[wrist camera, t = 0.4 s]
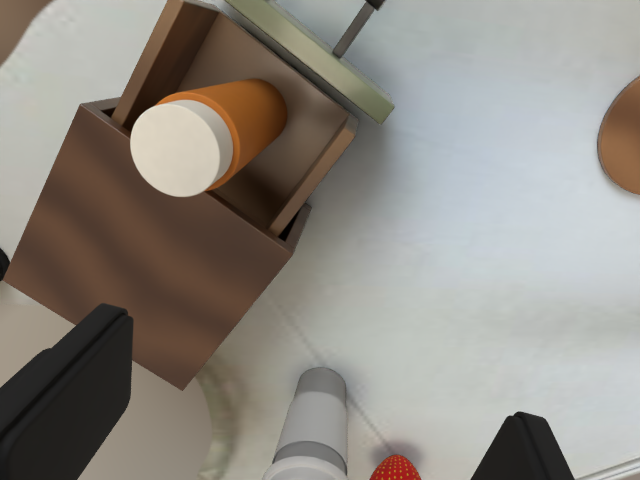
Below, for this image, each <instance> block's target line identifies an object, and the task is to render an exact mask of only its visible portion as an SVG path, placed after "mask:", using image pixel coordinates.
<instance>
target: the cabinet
mask: <svg viewBox="0 0 640 480" xmlns="http://www.w3.org/2000/svg"><path fill="white" fill-rule="evenodd" d="M120 98H121V97H118V98H112V99H106V100H100V101H94V102H89V103H82V104H80V105H79V108H78V110H77V112H76V114H75V117H74V119H73V121H72V124H71V126H70V128H69V130H68V133H67V135H66V137H65V139H64V142H63V144H62V146H61V149H60V151H59V153H58V155H57V158H56V160H55V162H54V164H53V167H52V169H51V171H50V174H49V176H48V178H47V180H46V183H45V185H44V187H43V190H42V192H41V194H40V196H39V199H38V201H37V203H36V205H35V208H34V210H33V212H32V215H31V217H30V219H29V221H28V224H27V226H26V228H25V230H24V233H23V235H22V237H21V240H20V242H19V244H18V246H17V249H16V251H15V253H14V255H13V258H12V260H11V262H10V265H9V267H8V269H7V271H6V274H5V276H4V278H3V281H5V282H6V283H8V284H9V285H11V286H13V287H14V288H16V289H18V290H19V291H21V292H22V293H24V294H26V295H27V296H29V297H31V298H32V299H34V300H35V301H37V302H39V303H40V304H42V305H44V306H45V307H47V308H48V309H50V310H52V311H53V312H55V313H57V314H58V315H60V316H61V317H63V318H65V319H66V320H68V321H70V322H71V323H73V324H75V325H77V324H78V323H79V322H81V321H82V320H83V319H84V318H85V317H86V316H87V315H88V314H89V313H90V312H92V311H93V310H94V309H95V308H96V307H97V306H98V305H100V304H101V303H106V304H110V305H113V306H117V307H121V308H125V309H127V311H128V316H131V317H133V320H134V325H133V348H132V360H133V361H135V362H136V363H138V364H139V365H141V366H143V367H144V368H146V369H148V370H149V371H151V372H153V373H154V374H156V375H157V376H159V377H161V378H162V379H164V380H165V381H167V382H169V383H170V384H172V385H174V386H175V387H177V388H178V389H180V390H182V391H183V390H184V389H185V387H186V386H187V385H188V383H189V382H190V381H191V380H192V379H193V378H194V376H195V375H196V374H197V373H198V371H199V370H200V369H201V368H202V366H203V365H204V364H205V363H206V361H207V360H208V359H209V358H210V357H211V355H212V354H213V353H214V352H215V350H216V349H217V348H218V347H219V345H220V344H221V343H222V342H223V340H224V339H225V338H226V337H227V336H228V334H229V333H230V332H231V331H232V329H233V328H234V327H235V326H236V324H237V323H238V322H239V321H240V319H241V318H242V317H243V316H244V315H245V313H246V312H247V311H248V310H249V308H250V307H251V306H252V305H253V303H254V302H255V301H256V300H257V298H258V297H259V296H260V295H261V294H262V292H263V291H264V290H265V289H266V287H267V286H268V285H269V284H270V282H271V281H272V280H273V279H274V277H275V276H276V275H277V274H278V273H279V271H280V270H281V269H282V268H283V266H284V265H285V264H286V263H287V261H288V260H289V259H290V258H291V256H292V255H293V253H294V251H295V248H296V246H297V243H298V241H299V238H300V236H301V233H302V231H303V228H304V226H305V223H306V221H307V218H308V216H309V213H310V211H311V207H310V206H309V205H307V204H306V203H304V204H303V205H302V206H301V208H300V209H299V210H298V212H297V213H296V214H295V215H294V217H293V218H292V219H291V221H290V222H289V223H288V224H287V226H286V227H285V228H284V230H283V231H282V232H281V234H280V235H279V236H278V237H277V236H276V235H274V234H273V233H271V232H270V231H269V230H267V229H266V228H264V227H263V226H262V225H260V224H259V223H257V222H256V221H255V220H253V219H252V218H250V217H249V216H248V215H246V214H245V213H243V212H242V211H241V210H239V209H238V208H236V207H235V206H233V205H232V204H231V203H229V202H228V201H226V200H225V199H224V198H222V197H221V196H219V195H218V194H217V193H215V192H214V191H212V190H208V191H203V192H201V193H200V194H197V195H194V196H190V197H176V196H171V195H168V194H165V193H163V192H161V191H159V190H157V189H156V188H154V187H153V186H152V185H150V184H149V183H148V182H147V181H146V180H145V179H144V178H143V176H142V175H141V174H140V172H139V171H138V169H137V167H136V165H135V163H134V161H133V157H132V154H131V147H130V139H131V132H129V131H128V130H127V129H125V128H124V127H122V126H121V125H120V124H118V123H117V122H115V121H114V120H113V119H111V117H112V115H113V113H114V111H115V109H116V107H117V105H118V103H119V100H120Z"/></svg>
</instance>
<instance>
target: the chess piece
mask: <svg viewBox="0 0 640 480" xmlns="http://www.w3.org/2000/svg"><path fill="white" fill-rule="evenodd" d="M8 267H9V261H8V259H7V257H6V255H5V254H4V252H3V251H2V250H1V249H0V281H2V280H3V278H4V276H5V274H6V271H7V269H8Z"/></svg>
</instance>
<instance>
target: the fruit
mask: <svg viewBox="0 0 640 480" xmlns="http://www.w3.org/2000/svg"><path fill="white" fill-rule="evenodd" d="M370 480H421V478H420V476H419V474H418V472H417V470H416V469H415V467H414V466H413V465H412V463H411V462H410V461H409V460H408V459H406V458H405V457H403V456H401V455H392V456H389V457H387V458H386V459H385V460H383V461H382V462H381V464H380V465H379V466H378V467H377V468H376V469H375V471H374V472H373V474H372V476H371V478H370Z"/></svg>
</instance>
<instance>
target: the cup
mask: <svg viewBox="0 0 640 480" xmlns="http://www.w3.org/2000/svg"><path fill="white" fill-rule="evenodd" d="M262 480H348V478H347V411H346V385H345V382H344V380H343V378H342V377H341V376H340V375H339V374H338V373H336V372H335V371H333V370H330V369H327V368H313V369H310V370H308V371H306V372H305V373H303V374H302V376H301V377H300V379H299V382H298V385H297V389H296V392H295V395H294V399H293V401H292V402H291V404H290V407H289V410H288V413H287V416H286V419H285V423H284V426H283V429H282V432H281V435H280V439H279V442H278V445H277V448H276V451H275V455H274V458H273V461H272V465H271V466H270V467H269V468H268V469H267V470H266V472H265V473H264V475H263V478H262Z"/></svg>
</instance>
